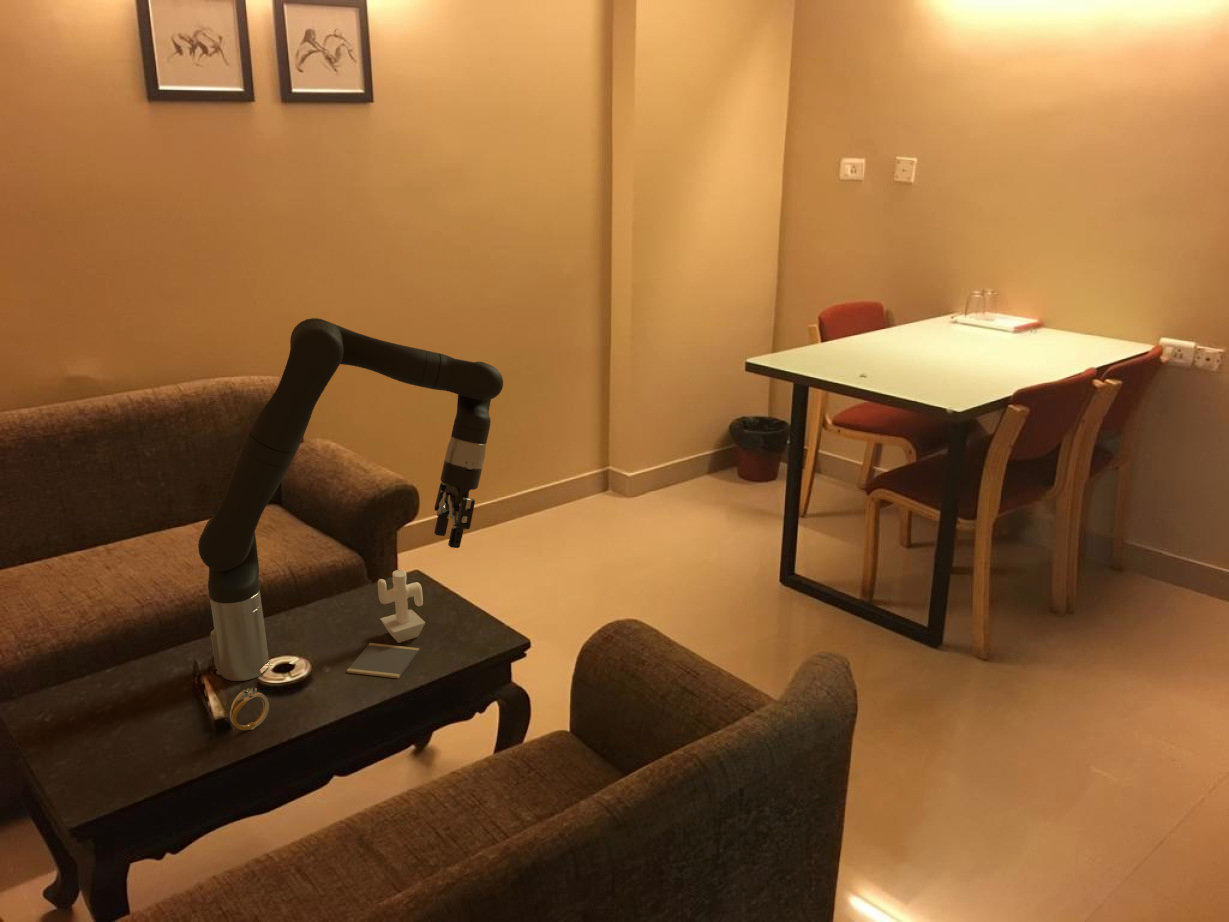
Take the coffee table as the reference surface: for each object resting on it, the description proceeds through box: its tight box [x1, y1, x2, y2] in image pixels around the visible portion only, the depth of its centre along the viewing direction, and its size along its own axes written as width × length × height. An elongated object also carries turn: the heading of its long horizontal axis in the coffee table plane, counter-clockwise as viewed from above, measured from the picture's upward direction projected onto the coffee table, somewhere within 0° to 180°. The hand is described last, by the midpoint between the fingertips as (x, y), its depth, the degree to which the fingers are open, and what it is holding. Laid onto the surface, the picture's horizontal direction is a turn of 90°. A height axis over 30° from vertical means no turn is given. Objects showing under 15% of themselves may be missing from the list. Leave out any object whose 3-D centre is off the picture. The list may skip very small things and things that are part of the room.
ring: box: [229, 687, 270, 731], centre depth 177 cm, size 7×3×8 cm, turn 132°
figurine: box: [377, 569, 426, 644], centre depth 207 cm, size 7×9×15 cm
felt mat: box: [346, 642, 420, 679], centre depth 200 cm, size 11×11×1 cm
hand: (446, 541), depth 194 cm, fingers open, 8 cm apart
